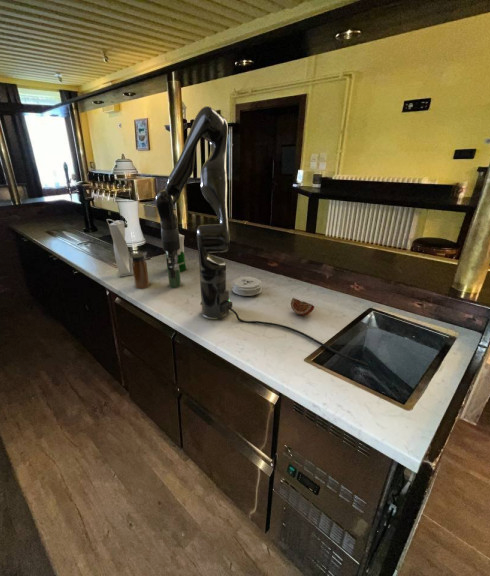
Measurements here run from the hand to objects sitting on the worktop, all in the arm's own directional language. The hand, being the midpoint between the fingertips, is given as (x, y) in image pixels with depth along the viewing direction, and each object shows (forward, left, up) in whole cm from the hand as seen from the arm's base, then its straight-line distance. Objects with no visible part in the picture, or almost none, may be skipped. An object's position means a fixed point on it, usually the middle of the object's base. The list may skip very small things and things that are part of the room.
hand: (174, 275), depth 135 cm
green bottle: (0, 0, -5) cm, 5 cm away
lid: (-31, -11, -5) cm, 33 cm away
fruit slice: (-57, -5, -5) cm, 57 cm away
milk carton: (+12, -15, -5) cm, 20 cm away
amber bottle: (+13, +8, -5) cm, 16 cm away
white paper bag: (+32, +2, -5) cm, 32 cm away
